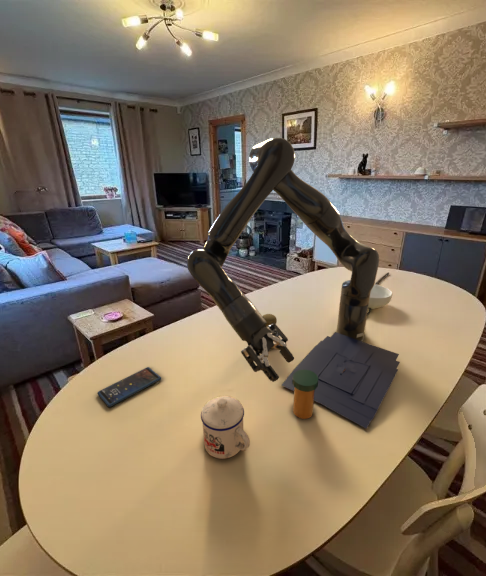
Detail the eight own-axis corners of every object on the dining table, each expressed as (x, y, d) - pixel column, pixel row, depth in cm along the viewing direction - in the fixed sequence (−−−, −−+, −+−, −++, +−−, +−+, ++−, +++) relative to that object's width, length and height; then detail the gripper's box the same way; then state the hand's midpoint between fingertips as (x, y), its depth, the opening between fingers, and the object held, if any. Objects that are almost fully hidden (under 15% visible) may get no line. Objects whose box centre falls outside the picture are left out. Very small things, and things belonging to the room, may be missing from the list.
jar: (300, 401, 79) (302, 369, 76) (316, 410, 77) (319, 378, 73) (289, 412, 76) (291, 379, 72) (306, 422, 73) (308, 388, 69)
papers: (404, 363, 92) (406, 354, 90) (366, 437, 72) (368, 426, 70) (329, 336, 106) (330, 328, 104) (280, 392, 86) (280, 382, 84)
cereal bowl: (393, 302, 134) (396, 287, 132) (385, 317, 121) (388, 301, 119) (354, 294, 143) (356, 280, 140) (343, 307, 130) (344, 292, 127)
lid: (301, 372, 77) (301, 366, 76) (322, 382, 73) (322, 376, 73) (287, 384, 73) (287, 378, 72) (309, 395, 69) (309, 389, 68)
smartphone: (161, 377, 87) (108, 406, 77) (162, 379, 87) (109, 408, 77) (148, 366, 92) (96, 391, 81) (148, 368, 92) (96, 394, 82)
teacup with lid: (194, 443, 68) (190, 402, 63) (225, 419, 74) (223, 380, 69) (233, 478, 60) (231, 434, 56) (263, 448, 67) (263, 406, 62)
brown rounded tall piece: (275, 350, 101) (276, 321, 96) (257, 348, 102) (257, 319, 97) (278, 340, 106) (279, 312, 102) (261, 339, 107) (261, 310, 103)
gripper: (236, 322, 68) (281, 381, 67) (267, 299, 79) (306, 349, 78) (218, 336, 72) (260, 392, 71) (249, 312, 84) (286, 360, 83)
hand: (284, 370), depth 75 cm, fingers open, 8 cm apart
